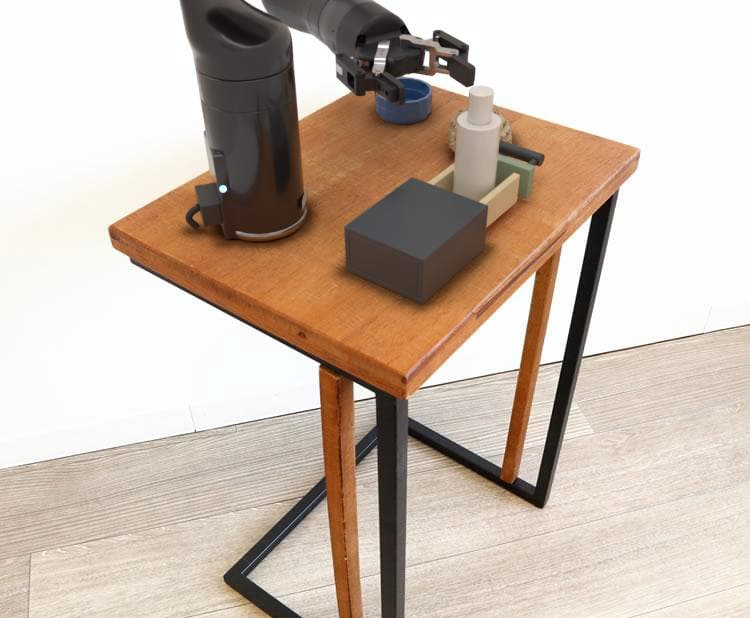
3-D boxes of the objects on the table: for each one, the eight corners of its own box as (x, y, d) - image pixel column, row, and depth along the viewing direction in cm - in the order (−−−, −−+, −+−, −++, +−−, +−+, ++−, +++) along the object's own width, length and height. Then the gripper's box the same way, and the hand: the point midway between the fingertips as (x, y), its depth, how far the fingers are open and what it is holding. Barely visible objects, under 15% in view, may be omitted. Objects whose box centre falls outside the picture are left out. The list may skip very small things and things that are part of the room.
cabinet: (410, 219, 90) (411, 176, 86) (484, 249, 86) (488, 205, 82) (345, 270, 84) (343, 226, 80) (422, 305, 79) (423, 260, 76)
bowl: (385, 129, 105) (385, 106, 103) (368, 104, 110) (368, 81, 108) (439, 120, 106) (440, 97, 104) (420, 96, 111) (421, 73, 109)
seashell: (448, 152, 106) (443, 157, 97) (451, 102, 104) (447, 102, 95) (510, 156, 105) (511, 162, 96) (515, 106, 103) (516, 106, 94)
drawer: (488, 158, 98) (491, 129, 95) (550, 179, 94) (554, 150, 92) (417, 214, 89) (418, 184, 87) (481, 239, 86) (484, 209, 83)
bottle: (450, 207, 88) (456, 99, 80) (454, 186, 91) (461, 79, 83) (492, 211, 88) (502, 102, 79) (495, 189, 91) (505, 82, 82)
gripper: (305, 13, 93) (378, 67, 83) (415, -11, 98) (497, 37, 88) (310, 79, 98) (379, 137, 88) (414, 53, 103) (491, 105, 93)
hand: (438, 87), depth 88 cm, fingers open, 8 cm apart
